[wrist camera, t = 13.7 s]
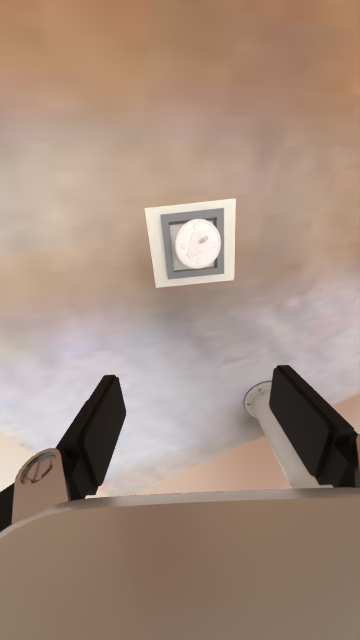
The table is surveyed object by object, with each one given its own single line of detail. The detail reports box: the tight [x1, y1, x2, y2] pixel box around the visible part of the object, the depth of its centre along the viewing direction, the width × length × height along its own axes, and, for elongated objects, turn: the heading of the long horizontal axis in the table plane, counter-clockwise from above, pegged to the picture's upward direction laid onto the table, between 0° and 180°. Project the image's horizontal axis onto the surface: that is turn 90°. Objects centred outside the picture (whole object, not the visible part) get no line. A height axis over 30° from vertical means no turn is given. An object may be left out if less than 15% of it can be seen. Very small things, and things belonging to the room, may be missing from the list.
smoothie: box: [175, 219, 221, 269], centre depth 26 cm, size 6×6×14 cm
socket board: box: [145, 199, 236, 288], centre depth 31 cm, size 16×14×4 cm
